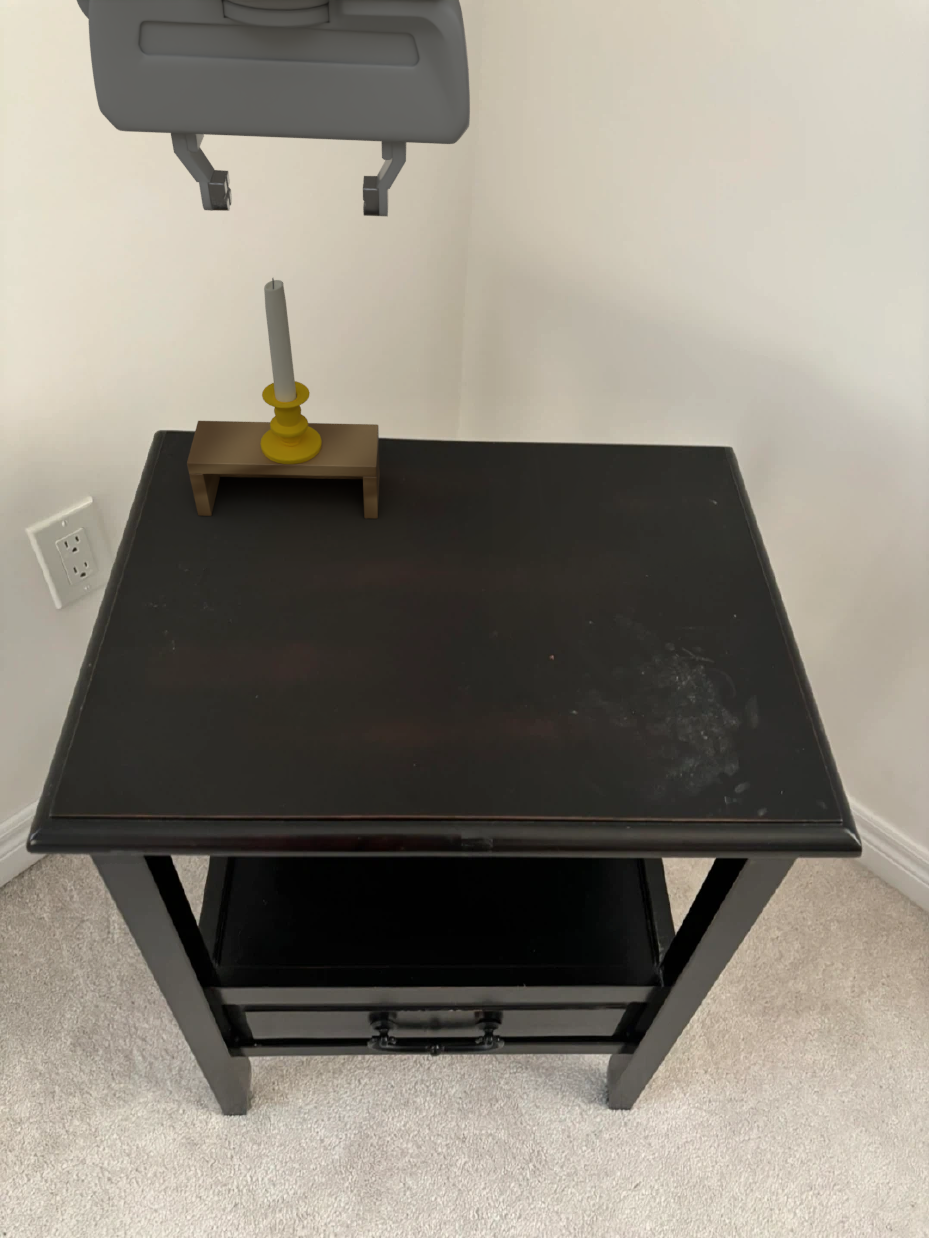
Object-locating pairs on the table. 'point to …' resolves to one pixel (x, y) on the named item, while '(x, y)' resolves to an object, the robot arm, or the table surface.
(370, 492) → the shelf
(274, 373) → the candle
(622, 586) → the table surface
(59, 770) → the table surface
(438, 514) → the table surface
